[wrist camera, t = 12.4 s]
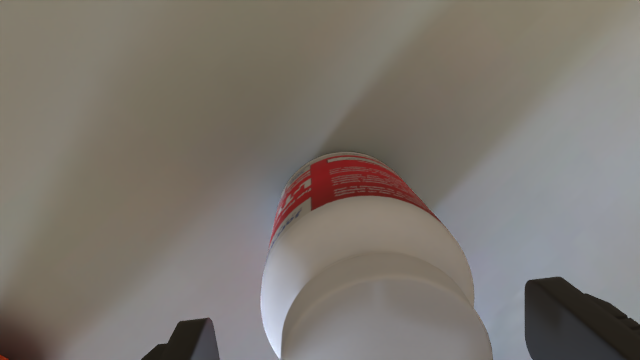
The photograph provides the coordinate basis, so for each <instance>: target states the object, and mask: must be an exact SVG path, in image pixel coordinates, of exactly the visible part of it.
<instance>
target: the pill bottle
mask: <svg viewBox="0 0 640 360" xmlns="http://www.w3.org/2000/svg"><path fill="white" fill-rule="evenodd" d="M261 314H262V321H263V325H264V329H265V332H266V334H267V337H268V340H269V342H270V344H271V346H272V348H273V350H274V352H275V353H276V355H277V356H278V357H279V359H280V360H493V356H492V347H491V343H490V340H489V336H488V333H487V331H486V329H485V326H484V324H483V322H482V321H481V319H480V317H479V315H478V313H477V312H476V311H475V309H474V285H473V278H472V275H471V271H470V267H469V265H468V262H467V259H466V257H465V255H464V253H463V251H462V249H461V247H460V246H459V244H458V243H457V241H456V240H455V238H454V237H453V236H452V235H451V233H450V232H449V231H448V229H447V228H446V227H445V226H444V225H443V224H442V223H441V221H440V220H439V219H438V218H437V217H436V216H435V215H434V214H433V213H432V212H431V211H430V210H429V209H428V207H427V206H426V205H425V204H424V203H423V202H422V200H421V199H420V198H419V197H418V196H417V195H416V194H415V193H414V192H413V191H412V190H411V189H410V188H409V187H408V185H407V184H406V183H405V182H404V181H403V180H402V179H401V178H400V177H399V176H398V175H397V174H396V173H395V172H394V171H393V170H392V169H391V168H390V167H388V166H387V165H386V164H384V163H383V162H381V161H379V160H378V159H376V158H373V157H371V156H369V155H365V154H361V153H356V152H336V153H331V154H326V155H323V156H320V157H318V158H316V159H314V160H312V161H310V162H308V163H307V164H305V165H304V166H303V167H301V168H300V169H299V170H298V171H297V172H296V173H295V174H294V175H293V176H292V177H291V179H290V180H289V182H288V183H287V185H286V186H285V188H284V190H283V192H282V194H281V197H280V200H279V204H278V208H277V212H276V217H275V221H274V226H273V231H272V236H271V240H270V244H269V249H268V254H267V259H266V263H265V268H264V273H263V278H262V287H261Z"/></svg>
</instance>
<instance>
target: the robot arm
mask: <svg viewBox="0 0 640 360" xmlns="http://www.w3.org/2000/svg"><path fill="white" fill-rule="evenodd" d="M525 340H526V345H527V348H528V351H529V354H530V356H531V358H532V359H533V360H640V324H638V323H637V322H635V321H634V320H633V319H631V318H628V317H627V315H626V314H624V313H623V312H621V311H620V310H619V309H617V308H616V307H614V306H613V305H612V304H610V303H608V302H606V301H603V300H601V299H598V298H596V297H594V296H591V295H589V294H583V293H582V292H581V291H579V290H578V289H577V288H575V287H574V286H573V285H571V284H570V283H569V282H567V281H566V280H565V279H563V278H562V277H551V278H542V279H534V280H529V281H527V283H526V285H525ZM141 360H220V358H219V353H218V347H217V342H216V337H215V331H214V326H213V322H212V320H211V319H210V318H203V319H195V320H187V321H180V322H179V323H178V324H177V326H176V328H175V330H174V332H173V334H172V336H171V337H170V339H169V341H168V343H166V344H158V345H157V346H156V347H155V348H153V349H152V350H151V351H150V352H149V353H148V354H147V355H146V356H144V357H143V358H142V359H141Z"/></svg>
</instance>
